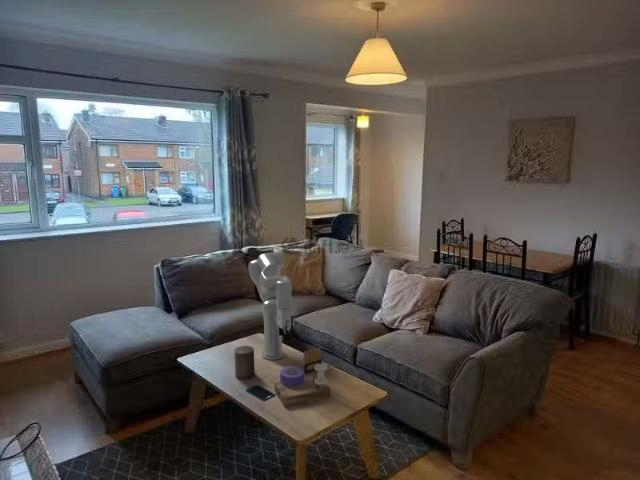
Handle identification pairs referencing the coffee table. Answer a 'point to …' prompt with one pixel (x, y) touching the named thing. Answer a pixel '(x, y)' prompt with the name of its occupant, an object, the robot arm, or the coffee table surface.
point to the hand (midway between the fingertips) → (284, 337)
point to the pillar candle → (244, 362)
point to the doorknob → (320, 374)
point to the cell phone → (260, 392)
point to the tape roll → (292, 376)
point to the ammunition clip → (311, 360)
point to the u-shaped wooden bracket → (302, 394)
